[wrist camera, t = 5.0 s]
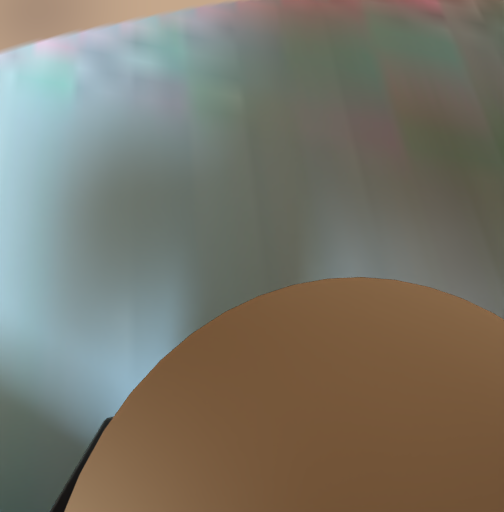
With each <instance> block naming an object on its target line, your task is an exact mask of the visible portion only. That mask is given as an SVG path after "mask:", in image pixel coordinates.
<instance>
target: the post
mask: <svg viewBox="0 0 504 512" xmlns="http://www.w3.org/2000/svg"><path fill="white" fill-rule="evenodd" d="M64 512H504V320H503V319H502V318H500V317H499V316H497V315H495V314H494V313H492V312H489V311H487V310H485V309H483V308H481V307H479V306H477V305H475V304H473V303H471V302H469V301H466V300H464V299H462V298H459V297H456V296H454V295H451V294H448V293H445V292H442V291H439V290H436V289H433V288H430V287H426V286H421V285H417V284H412V283H407V282H402V281H398V280H389V279H377V278H365V277H354V278H334V279H323V280H318V281H312V282H307V283H301V284H296V285H291V286H288V287H285V288H282V289H279V290H276V291H273V292H270V293H267V294H263V295H260V296H258V297H255V298H253V299H251V300H249V301H247V302H245V303H243V304H241V305H239V306H237V307H235V308H233V309H230V310H228V311H226V312H224V313H223V314H221V315H220V316H218V317H217V318H215V319H214V320H212V321H210V322H209V323H207V324H206V325H204V326H203V327H201V328H200V329H198V330H197V331H195V332H194V333H192V334H191V335H190V336H189V337H187V338H186V339H185V340H184V341H183V342H181V343H180V344H179V345H178V346H177V347H176V348H174V349H173V350H172V351H171V352H170V353H169V354H167V355H166V356H165V357H164V358H163V359H162V360H160V361H159V363H158V364H157V365H156V366H155V367H154V368H153V369H152V370H151V371H150V372H149V374H148V375H147V376H146V377H145V378H144V379H143V380H142V381H141V382H140V383H139V384H138V386H137V387H136V388H135V389H134V390H133V391H132V392H131V393H130V395H129V396H128V398H127V399H126V400H125V402H124V403H123V405H122V406H121V407H120V409H119V410H118V412H117V413H116V414H115V416H114V417H113V419H112V420H111V421H110V423H109V424H108V426H107V427H106V428H105V430H104V431H103V433H102V435H101V437H100V439H99V440H98V442H97V444H96V446H95V448H94V449H93V451H92V453H91V455H90V457H89V458H88V460H87V462H86V464H85V466H84V468H83V469H82V471H81V473H80V475H79V477H78V480H77V482H76V485H75V487H74V490H73V492H72V494H71V497H70V499H69V502H68V504H67V506H66V509H65V511H64Z"/></svg>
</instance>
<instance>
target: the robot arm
mask: <svg viewBox="0 0 504 512" xmlns="http://www.w3.org/2000/svg"><path fill="white" fill-rule="evenodd" d="M112 419H113V417H110V418H107V419H106V420H105V421H104V422H103V424H102V425H101V427H100V429H99V430H98V432H97V434H96V435H95V437H94V439H93V440H92V442H91V444H90V445H89V447H88V449H87V450H86V452H85V454H84V455H83V457H82V459H81V460H80V462H79V464H78V465H77V467H76V469H75V470H74V472H73V474H72V475H71V477H70V479H69V480H68V482H67V484H66V485H65V487H64V489H63V490H62V492H61V494H60V495H59V497H58V499H57V500H56V502H55V504H54V505H53V507H52V509H51V510H50V512H64V511H65V509H66V506H67V504H68V502H69V499H70V497H71V494H72V492H73V490H74V487H75V485H76V482H77V480H78V477H79V475H80V473H81V471H82V469H83V468H84V466H85V464H86V462H87V460H88V458H89V457H90V455H91V453H92V451H93V449H94V448H95V446H96V444H97V442H98V440H99V439H100V437H101V435H102V433H103V431H104V430H105V428H106V427H107V426H108V424H109V423H110V421H111V420H112Z"/></svg>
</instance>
